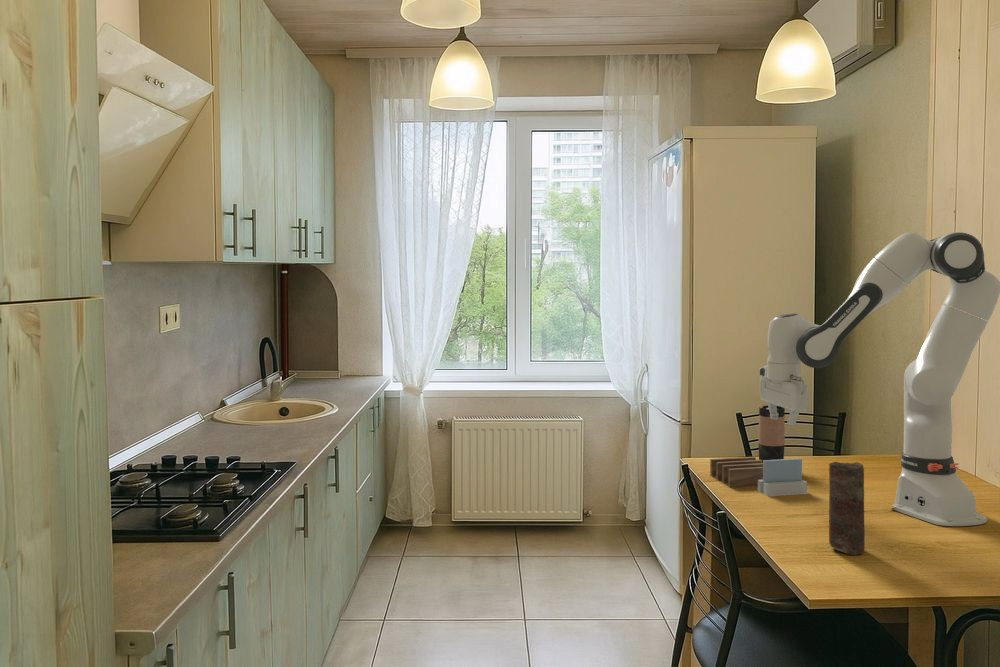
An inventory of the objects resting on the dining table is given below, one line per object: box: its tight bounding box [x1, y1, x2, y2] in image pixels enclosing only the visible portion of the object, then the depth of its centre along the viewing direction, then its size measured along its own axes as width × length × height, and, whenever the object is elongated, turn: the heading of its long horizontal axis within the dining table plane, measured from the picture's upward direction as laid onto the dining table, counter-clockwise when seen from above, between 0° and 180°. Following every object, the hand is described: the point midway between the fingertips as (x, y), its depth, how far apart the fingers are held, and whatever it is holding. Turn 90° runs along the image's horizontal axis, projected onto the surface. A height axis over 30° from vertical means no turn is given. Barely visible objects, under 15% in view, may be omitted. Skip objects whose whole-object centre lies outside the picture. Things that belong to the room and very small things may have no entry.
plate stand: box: [756, 480, 809, 497], centre depth 225 cm, size 7×12×4 cm, turn 100°
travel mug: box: [758, 404, 786, 463], centre depth 251 cm, size 8×8×20 cm
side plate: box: [762, 457, 803, 494], centre depth 225 cm, size 1×11×9 cm, turn 100°
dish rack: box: [709, 456, 763, 489], centre depth 238 cm, size 14×14×6 cm
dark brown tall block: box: [828, 461, 866, 556], centre depth 181 cm, size 8×7×20 cm
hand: (782, 422), depth 224 cm, fingers open, 8 cm apart
